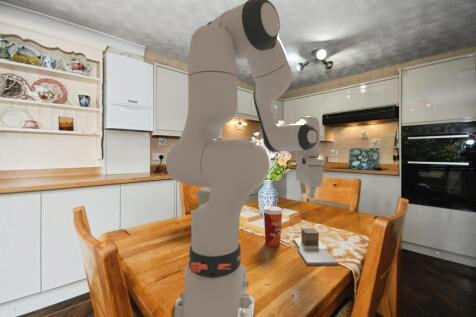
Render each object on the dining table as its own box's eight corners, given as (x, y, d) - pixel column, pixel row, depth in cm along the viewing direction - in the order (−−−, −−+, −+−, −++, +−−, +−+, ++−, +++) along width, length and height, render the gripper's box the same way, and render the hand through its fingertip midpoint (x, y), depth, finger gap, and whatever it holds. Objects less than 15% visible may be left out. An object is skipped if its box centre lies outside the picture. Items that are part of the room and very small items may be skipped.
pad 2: (338, 264, 73) (338, 262, 73) (307, 264, 72) (307, 262, 72) (325, 250, 83) (325, 248, 83) (298, 251, 82) (298, 248, 82)
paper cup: (275, 249, 84) (275, 211, 83) (259, 243, 89) (259, 208, 88) (286, 243, 89) (286, 208, 89) (270, 238, 95) (270, 204, 94)
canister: (189, 223, 114) (189, 181, 113) (217, 216, 126) (217, 178, 126) (210, 232, 101) (209, 185, 100) (239, 223, 113) (239, 182, 112)
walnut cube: (318, 245, 85) (318, 232, 85) (305, 245, 85) (305, 232, 85) (313, 240, 90) (313, 228, 90) (301, 240, 90) (301, 228, 90)
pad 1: (327, 250, 83) (327, 248, 83) (300, 251, 82) (300, 248, 82) (317, 239, 93) (317, 238, 93) (293, 240, 92) (293, 238, 92)
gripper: (292, 158, 97) (292, 190, 97) (308, 160, 77) (307, 201, 77) (307, 158, 97) (306, 190, 97) (326, 160, 77) (325, 201, 77)
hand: (307, 195), depth 87 cm, fingers open, 8 cm apart
